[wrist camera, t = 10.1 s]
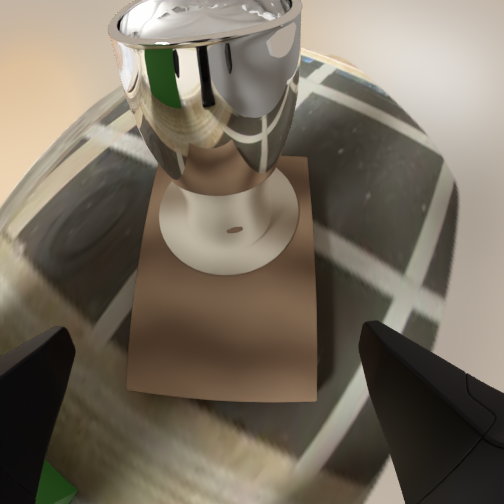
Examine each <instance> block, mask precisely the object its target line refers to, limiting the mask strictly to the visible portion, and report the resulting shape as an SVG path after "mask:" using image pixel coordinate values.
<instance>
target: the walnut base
mask: <svg viewBox="0 0 504 504" xmlns="http://www.w3.org/2000/svg"><path fill="white" fill-rule="evenodd" d="M269 189H270V193H271V197H272V202H273V216H272V220H271V223H270V225H269V227H268V229H267V230H266V232H265V233H264V234H263V235H262V237H260V238H259V239H258V240H257V241H256V242H254V243H253V244H251V245H249V246H247V247H244V248H241V249H236V250H220V249H215V248H212V247H209V246H207V245H205V244H204V243H202V242H201V241H200V240H198V239H197V238H196V237H195V236H194V235H193V233H192V232H191V230H190V228H189V226H188V223H187V219H186V202H185V199H184V197H183V195H182V193H181V192H180V191H179V189H178V188H177V187H176V185H175V184H174V183H173V181H172V180H171V179H170V178H169V176H168V175H167V174H166V172H165V171H164V170H163V169H162V167H161V166H160V165H159V163H158V167H157V171H156V175H155V180H154V184H153V188H152V193H151V198H150V202H149V207H148V212H147V217H146V222H145V227H144V233H143V238H142V244H141V250H140V256H139V263H138V269H137V276H136V283H135V291H134V298H133V307H132V316H131V325H130V336H129V348H128V362H127V380H126V390H132V391H138V392H144V393H151V394H158V395H166V396H174V397H183V398H193V399H205V400H219V401H238V402H309V401H317V308H316V277H315V255H314V237H313V222H312V208H311V195H310V183H309V172H308V162H307V157H296V156H280V158H279V161H278V163H277V166H276V168H275V170H274V173H273V175H272V178H271V181H270V185H269Z"/></svg>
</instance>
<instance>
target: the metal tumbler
mask: <svg viewBox="0 0 504 504" xmlns="http://www.w3.org/2000/svg"><path fill="white" fill-rule="evenodd" d="M301 10H302V2H301V0H135V1H133V2H131V3H130V4H128V5H127V6H125V7H124V8H123V9H121V10H120V11H119V12H118V13H117V14H116V15H115V16H114V17H113V18H112V20H111V21H110V23H109V26H108V34H109V36H110V38H111V41H112V45H113V49H114V53H115V58H116V62H117V66H118V70H119V74H120V78H121V82H122V85H123V89H124V92H125V96H126V98H127V101H128V104H129V107H130V110H131V113H132V115H133V118H134V120H135V122H136V125H137V127H138V129H139V131H140V133H141V135H142V137H143V139H144V141H145V143H146V145H147V146H148V148H149V149H150V151H151V153H152V154H153V156H154V157H155V159H156V160H157V162H158V163H159V165H160V166H161V167H162V169H163V170H164V171H165V172H166V174H167V175H168V176H169V178H170V179H171V180H172V181H173V183H174V184H175V185H176V187H177V188H178V189H179V191H180V192H181V193H182V195H183V197H184V199H185V202H186V219H187V223H188V226H189V228H190V230H191V232H192V233H193V235H194V236H195V237H196V238H197V239H198V240H200V241H201V242H202V243H204V244H205V245H207V246H209V247H212V248H215V249H220V250H236V249H241V248H244V247H247V246H249V245H251V244H253V243H254V242H256V241H257V240H258V239H259V238H260V237H262V235H263V234H264V233H265V232H266V230H267V229H268V227H269V225H270V223H271V220H272V216H273V202H272V197H271V193H270V189H269V185H270V181H271V178H272V175H273V173H274V170H275V168H276V166H277V163H278V161H279V158H280V156H281V153H282V151H283V148H284V146H285V143H286V140H287V137H288V134H289V131H290V128H291V125H292V121H293V117H294V111H295V106H296V101H297V95H298V85H299V75H300V54H301Z"/></svg>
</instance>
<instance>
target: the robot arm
mask: <svg viewBox="0 0 504 504" xmlns="http://www.w3.org/2000/svg"><path fill="white" fill-rule="evenodd" d="M359 354H360V358H361V361H362V366H363V370H364V374H365V378H366V382H367V386H368V390H369V394H370V397H371V400H372V403H373V406H374V408H375V411H376V414H377V417H378V420H379V423H380V425H381V428H382V431H383V434H384V437H385V440H386V443H387V446H388V449H389V452H390V455H391V458H392V461H393V464H394V467H395V471H396V474H397V477H398V480H399V484H400V487H401V490H402V494H403V497H404V501H405V504H504V393H502V392H500V391H498V390H496V389H494V388H492V387H490V386H489V385H487V384H485V383H483V382H481V381H480V380H478V379H476V378H475V377H472V376H471V375H469V374H468V373H467V374H466V373H465V372H464V371H462V370H461V369H459V368H458V367H456V366H454V365H452V364H451V363H449V362H447V361H446V360H444V359H442V358H441V357H439V356H437V355H436V354H434V353H432V352H430V351H429V350H427V349H425V348H424V347H422V346H420V345H419V344H417V343H415V342H414V341H412V340H410V339H408V338H407V337H405V336H403V335H402V334H400V333H398V332H397V331H395V330H393V329H391V328H390V327H388V326H386V325H385V324H383V323H381V322H379V321H377V320H374V321H366V322H364V324H363V326H362V330H361V335H360V340H359ZM74 357H75V346H74V344H73V342H72V339H71V337H70V334H69V332H68V330H67V329H66V328H65V327H59V326H55V327H53V328H51V329H49V330H47V331H45V332H44V333H42V334H40V335H38V336H36V337H35V338H33V339H31V340H29V341H27V342H26V343H24V344H22V345H20V346H19V347H17V348H15V349H13V350H12V351H10V352H8V353H6V354H5V355H3V356H1V357H0V504H35V503H36V497H37V492H38V487H39V483H40V478H41V474H42V470H43V465H44V461H45V458H46V454H47V450H48V446H49V443H50V439H51V436H52V432H53V429H54V426H55V423H56V419H57V416H58V413H59V410H60V407H61V404H62V401H63V398H64V395H65V392H66V388H67V384H68V380H69V376H70V372H71V368H72V365H73V361H74Z"/></svg>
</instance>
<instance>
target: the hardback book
mask: <svg viewBox="0 0 504 504" xmlns="http://www.w3.org/2000/svg"><path fill="white" fill-rule="evenodd" d="M77 491H78V490H77V489H76V488H75V487H74V486H72V485H71V484H70V483H69V482H68V481H67V480H66V479H65V478H64V477H63V476H62V475H61V474H60V473H59V472H58V471H56V470H55V469H54V468H53V467H52V466H51V465H50V464H49V463H48V461H47V460H46V459H45V461H44V465H43V470H42V474H41V478H40V483H39V487H38V492H37V497H36V503H35V504H70V502H71V501H72V499H73V497H74V496H75V494H76V493H77Z"/></svg>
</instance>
